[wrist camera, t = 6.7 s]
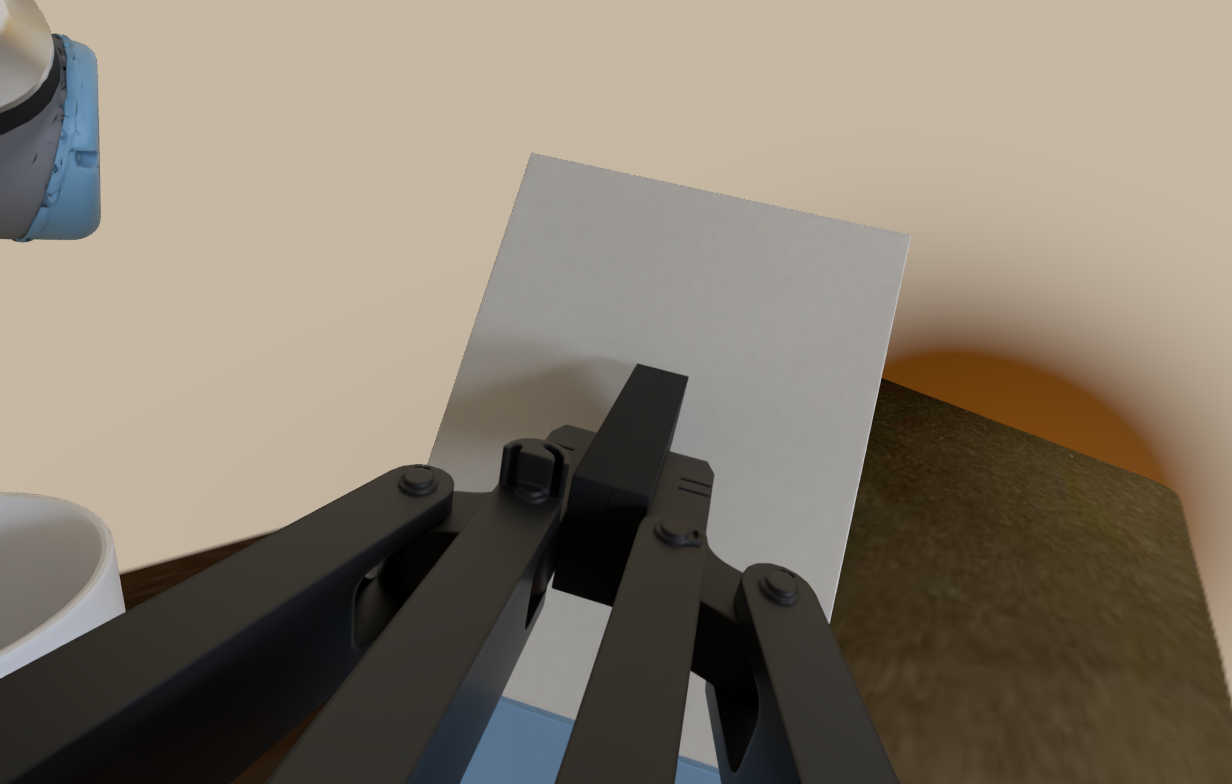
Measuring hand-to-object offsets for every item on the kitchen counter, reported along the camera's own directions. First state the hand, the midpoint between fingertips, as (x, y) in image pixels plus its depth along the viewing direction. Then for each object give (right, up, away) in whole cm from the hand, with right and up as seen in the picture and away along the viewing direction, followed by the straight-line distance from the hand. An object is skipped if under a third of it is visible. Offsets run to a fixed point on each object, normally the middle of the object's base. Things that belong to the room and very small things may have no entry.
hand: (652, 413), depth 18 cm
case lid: (0, -1, +2) cm, 2 cm away
